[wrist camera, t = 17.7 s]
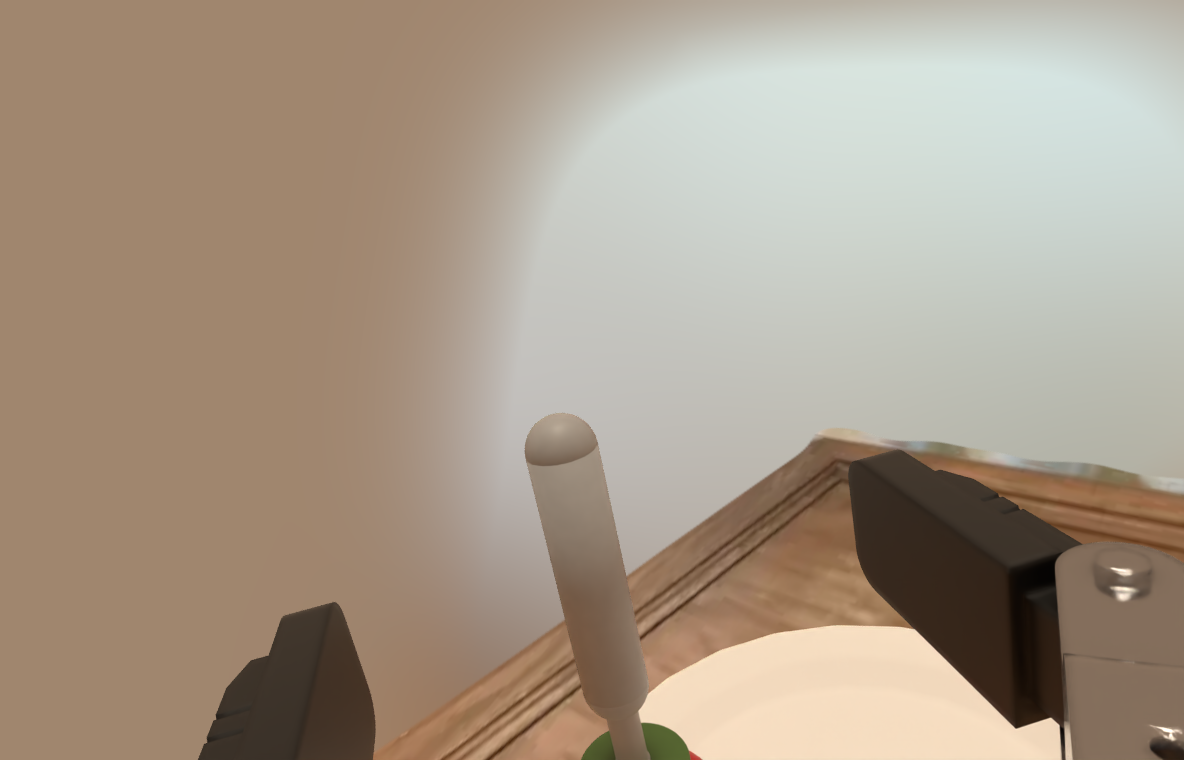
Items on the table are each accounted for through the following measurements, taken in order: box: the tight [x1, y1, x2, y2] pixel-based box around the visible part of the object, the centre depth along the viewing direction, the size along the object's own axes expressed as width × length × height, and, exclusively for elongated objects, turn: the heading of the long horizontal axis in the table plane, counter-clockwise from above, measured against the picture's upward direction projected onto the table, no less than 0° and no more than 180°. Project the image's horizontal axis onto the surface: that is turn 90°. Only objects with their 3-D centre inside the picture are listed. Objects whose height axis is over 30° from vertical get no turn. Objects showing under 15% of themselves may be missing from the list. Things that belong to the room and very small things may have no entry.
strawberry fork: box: [525, 413, 702, 760], centre depth 22 cm, size 5×5×16 cm
